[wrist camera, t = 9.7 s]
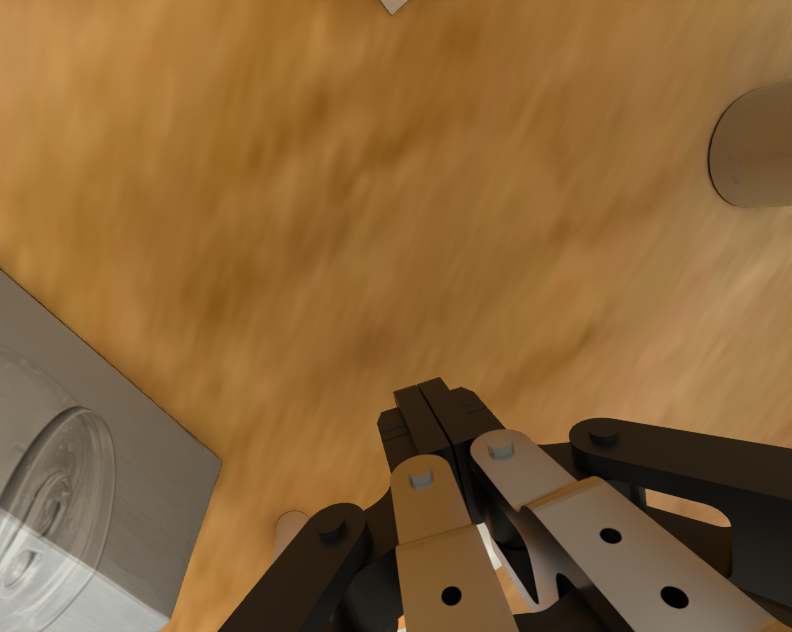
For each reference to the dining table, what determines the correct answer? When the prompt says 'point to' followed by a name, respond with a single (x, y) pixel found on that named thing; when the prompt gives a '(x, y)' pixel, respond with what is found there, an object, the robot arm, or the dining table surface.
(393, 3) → the milk
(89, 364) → the soda pack
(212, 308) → the dining table surface
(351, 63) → the dining table surface
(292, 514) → the post
